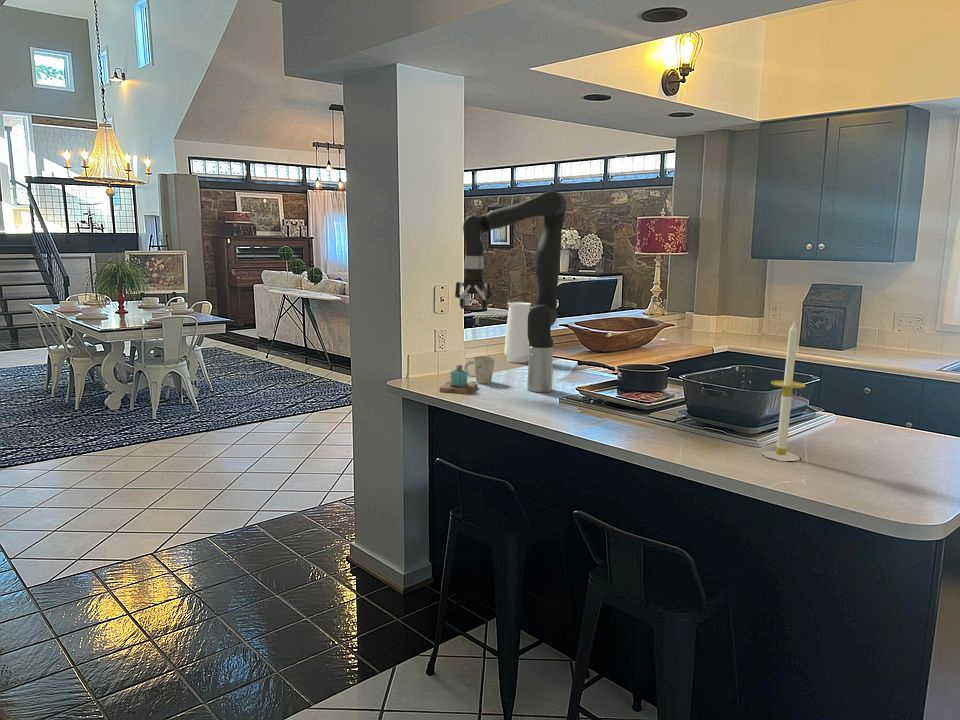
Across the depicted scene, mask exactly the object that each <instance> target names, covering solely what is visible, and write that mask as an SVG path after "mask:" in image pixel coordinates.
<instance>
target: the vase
mask: <svg viewBox="0 0 960 720" xmlns="http://www.w3.org/2000/svg"><path fill="white" fill-rule="evenodd" d="M507 305H508V310H507V318H506V319H507V321H506V328H505V329H506V330H505V339H504V340H505V341H504V350H503V351H504V352H503V353H504V355H505V356H506V360H507V362H509V363H514V364H515V363H516V364H517V363H518V364H519V363H522V364H523V363H527V362H528V361H529V340H528V314H529V311H530V310H531V305H532V303H530V302H518V301H515V302H507Z"/></svg>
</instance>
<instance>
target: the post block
mask: <svg viewBox="0 0 960 720" xmlns="http://www.w3.org/2000/svg"><path fill="white" fill-rule="evenodd" d="M455 370H456V372H462V370H463V364H456V365H455ZM478 385H479V383H470V382H467V384H466V385H452V384H451V381H447V382H446V383H444V384H443V385H442V386H440V387H439V392H440V393H454V394H466V395H468V394H469V395H470V394H472V393H473V392H474V391H475V390H476V389H477V388H478Z"/></svg>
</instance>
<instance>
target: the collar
mask: <svg viewBox="0 0 960 720" xmlns="http://www.w3.org/2000/svg"><path fill="white" fill-rule="evenodd" d="M467 371H468V370H467ZM467 371H466V370H464V369H462V372H456V369H452V370H450V382H451V384H452V385H466V384H467V383H468V375H467Z"/></svg>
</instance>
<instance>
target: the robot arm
mask: <svg viewBox="0 0 960 720" xmlns="http://www.w3.org/2000/svg"><path fill="white" fill-rule="evenodd" d="M566 208H567V201H566V199H565V196H564V195H563V194H562V193H560V192H558V191H555V190H548V191H545V192H543V193H540V194H539V195H537V196H535V197H533V198H530V199H528V200H525V201H522V202H520V203H516V204H511V205H509V206H504V207H503V206H502V207H501V208H497V209H494V210H493V209H492V210H490V211H489V212H487V213H484V214H481V215H473V214H472V215H468V216H466V218H465V219H464V221H463V225H462V226H463V227H462V231H463V237H464V243H465V248H464V249H465V253H464V254H465V255H464V265H463V267H464V269H463V271H464V272H463V273H464V274H463V275H464V277H463V278H464V279H463V282H460V281H458V282H457V281H456V283H455V295H454V297H455V298H458V299H459V307H460V309H461V310H463V309H465V297H466V296H467V295H468V294H469V295H471V294H476V295H478V294H479V296H480V297H481V298H482V304H481V305H482V308H481V310H486V308H487V307H488V299H489V300H490V299H491V298H492V296H493V295H492V294H493V293H492V283H491V282H488V283H484V270H485V269H484V267H485V266H484V265H485V263H484V243H483V241H482V240H481V234H484V233H487V232H490V231H493V230H496V229H500V228H503V227H507V226H512V225H513V224H517V223H519V222H521V221H524V220H526V219H530V218H531V219H532V218H534V217H536V218H537V217H542V216H543V223H542V224H543V226H542V231H541V232H542V233H541V235H540V239H539V241H538V245H537V248H536V252H535V264H534V265H535V266H534V268H535V270H534V271H535V277H536V283H537V286H538V294H537V304H536V305H534V306H532V307H530V311H529V314H528V340H529V358H528V361H527V362H528V364H527V365H528V367H527V368H528V369H527V390H528V391H530V392H535V393H550V392H552V390H553V372H554V365H553V359H554V358H553V356H554V354H553V353H554V339H553V338H552V335H551V328H552V326H553V325H554V324H555V323H556V321H557V317H558V300H557V297H558V296H557V295H558V294H557V293H558V284H559V274H560V268H561V267H560V266H561V256H562V254H561V253H562V233H563V232H562V230H563V224H564V218H565V214H566ZM462 287H463V288H464V290H463V292H462V293H461V288H462ZM484 287H485V289H486V293H487V295H486V293H485V291H484V290H483V289H484Z"/></svg>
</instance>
